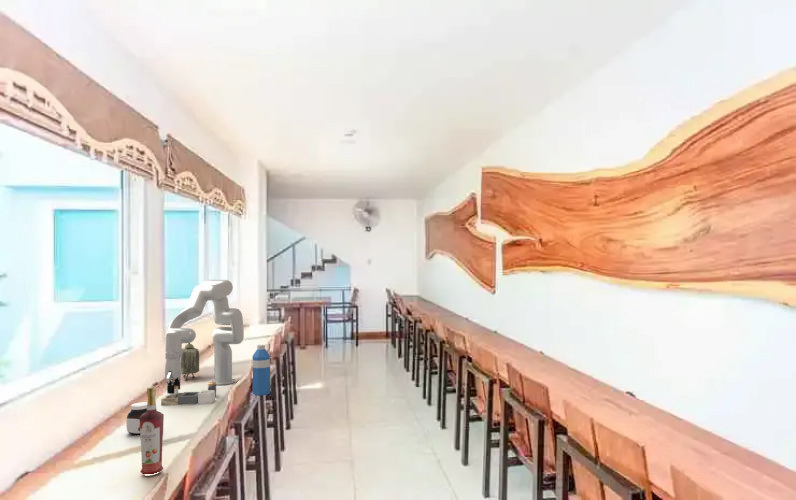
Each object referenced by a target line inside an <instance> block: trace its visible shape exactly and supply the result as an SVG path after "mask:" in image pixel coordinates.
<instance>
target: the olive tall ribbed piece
mask: <svg viewBox="0 0 796 500" xmlns="http://www.w3.org/2000/svg"><path fill="white" fill-rule="evenodd" d="M199 372H200V351H199V349H198V348H197V347H194V345H193V344H192V343H186V345H185V346H184V348H183V347H182V358H181V375H182V378H184V381H185V382H187V381H188V377H189V375H190V374H191V375H192V377H191V378H192V379H193V378H194V379H195V378H196V376H195V375H194V374H197V373H199Z"/></svg>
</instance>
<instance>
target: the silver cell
mask: <svg viewBox="0 0 796 500" xmlns="http://www.w3.org/2000/svg"><path fill="white" fill-rule="evenodd" d="M178 393H179V390H178V386H177V385H174V393H170V398H177V397H178Z"/></svg>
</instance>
